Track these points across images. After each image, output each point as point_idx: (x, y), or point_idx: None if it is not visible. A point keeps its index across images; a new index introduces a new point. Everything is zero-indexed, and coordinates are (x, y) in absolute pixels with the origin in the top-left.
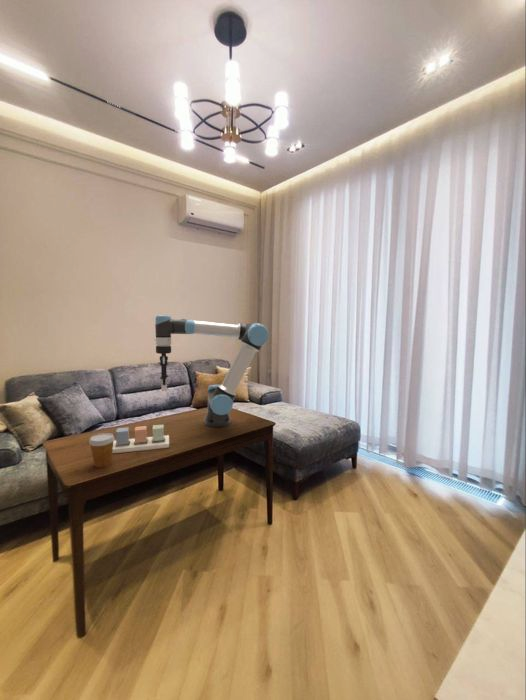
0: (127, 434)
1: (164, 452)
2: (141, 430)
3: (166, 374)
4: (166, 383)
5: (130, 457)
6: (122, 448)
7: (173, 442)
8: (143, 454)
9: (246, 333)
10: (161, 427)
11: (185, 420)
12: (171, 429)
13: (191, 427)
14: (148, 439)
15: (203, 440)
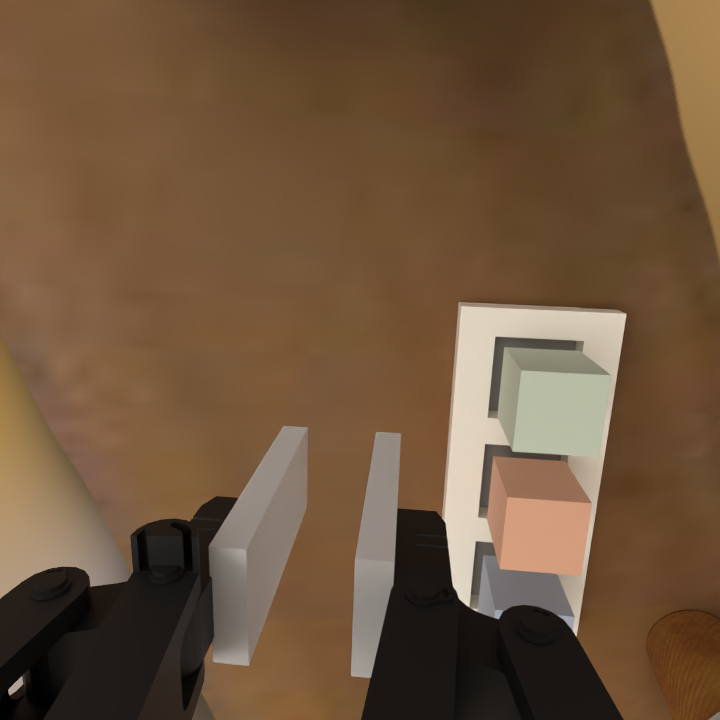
0: (566, 601)
1: (678, 342)
2: (585, 529)
3: (68, 577)
4: (396, 503)
5: (662, 525)
6: (583, 579)
7: (534, 275)
8: (652, 460)
9: None
10: (593, 390)
11: (96, 148)
12: (277, 273)
13: (272, 113)
14: (494, 440)
15: (582, 44)
